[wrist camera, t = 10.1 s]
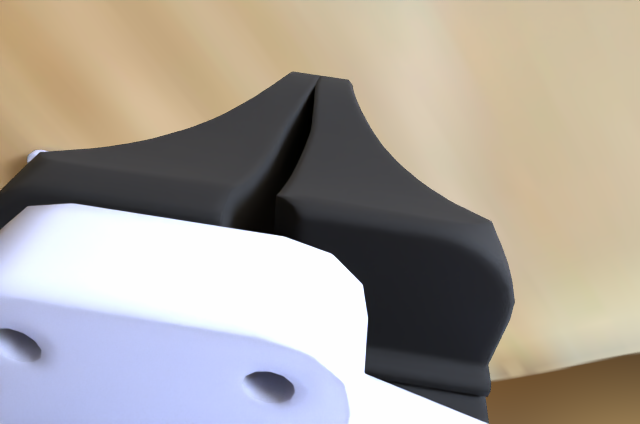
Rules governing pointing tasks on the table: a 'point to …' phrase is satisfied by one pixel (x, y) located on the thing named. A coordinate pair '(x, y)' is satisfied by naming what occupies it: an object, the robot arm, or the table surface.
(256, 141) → the robot arm
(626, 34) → the table surface
